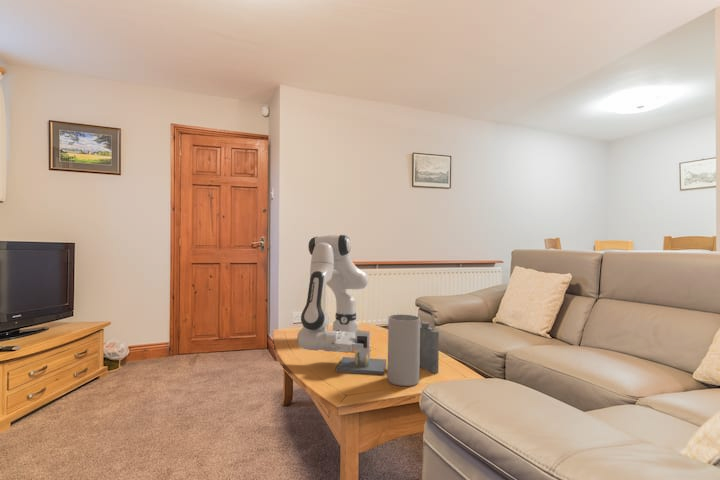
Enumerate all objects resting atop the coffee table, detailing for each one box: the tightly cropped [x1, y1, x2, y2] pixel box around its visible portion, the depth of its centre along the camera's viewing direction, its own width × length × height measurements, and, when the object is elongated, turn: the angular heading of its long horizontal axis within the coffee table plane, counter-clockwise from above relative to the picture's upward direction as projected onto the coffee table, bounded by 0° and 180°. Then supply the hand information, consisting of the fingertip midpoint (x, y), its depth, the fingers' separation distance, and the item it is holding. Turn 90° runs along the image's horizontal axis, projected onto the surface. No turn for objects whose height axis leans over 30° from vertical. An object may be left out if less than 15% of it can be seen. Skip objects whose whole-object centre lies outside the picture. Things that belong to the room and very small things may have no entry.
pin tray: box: [335, 355, 387, 376], centre depth 158 cm, size 16×20×6 cm
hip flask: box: [419, 321, 440, 375], centre depth 159 cm, size 16×4×20 cm, turn 36°
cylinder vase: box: [387, 314, 421, 387], centre depth 143 cm, size 12×12×25 cm
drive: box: [354, 329, 371, 365], centre depth 158 cm, size 4×6×14 cm, turn 82°
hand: (364, 342), depth 158 cm, fingers open, 8 cm apart
